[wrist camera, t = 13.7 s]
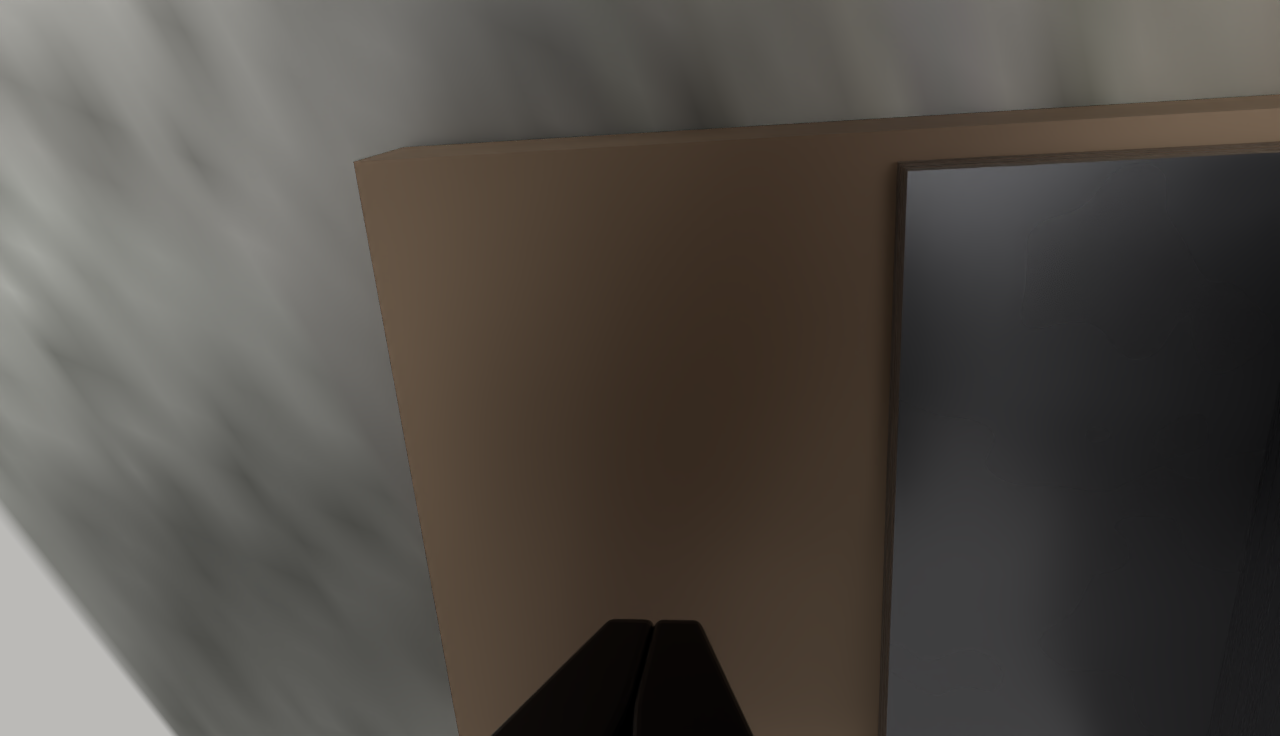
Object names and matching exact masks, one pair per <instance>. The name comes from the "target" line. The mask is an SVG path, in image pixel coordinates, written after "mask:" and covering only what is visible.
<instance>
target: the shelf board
mask: <svg viewBox="0 0 1280 736" xmlns="http://www.w3.org/2000/svg"><path fill="white" fill-rule="evenodd" d="M1275 141H1280V94H1279V95H1262V96H1246V97H1229V98H1213V99H1196V100H1179V101H1163V102H1146V103H1130V104H1113V105H1096V106H1080V107H1063V108H1047V109H1030V110H1013V111H997V112H980V113H964V114H947V115H930V116H914V117H897V118H881V119H864V120H847V121H831V122H814V123H798V124H781V125H765V126H748V127H731V128H715V129H698V130H682V131H665V132H648V133H632V134H615V135H599V136H582V137H565V138H549V139H532V140H516V141H499V142H482V143H466V144H449V145H433V146H416V147H403V148H399V149H396V150H392V151H389V152H385V153H382V154H379V155H375V156H372V157H368V158H365V159H361V160H358V161H355V162H354V167H355V172H356V178H357V183H358V189H359V194H360V200H361V205H362V210H363V216H364V221H365V227H366V232H367V238H368V243H369V249H370V254H371V259H372V265H373V270H374V276H375V281H376V287H377V292H378V297H379V303H380V308H381V314H382V319H383V325H384V330H385V336H386V341H387V346H388V352H389V357H390V363H391V368H392V374H393V379H394V385H395V390H396V395H397V401H398V406H399V412H400V417H401V423H402V428H403V433H404V439H405V444H406V450H407V455H408V461H409V466H410V472H411V477H412V482H413V488H414V493H415V499H416V504H417V510H418V515H419V521H420V526H421V531H422V537H423V542H424V548H425V553H426V559H427V564H428V569H429V575H430V580H431V586H432V591H433V597H434V602H435V608H436V613H437V618H438V624H439V629H440V635H441V640H442V646H443V651H444V657H445V662H446V667H447V673H448V678H449V684H450V689H451V695H452V700H453V705H454V711H455V716H456V722H457V727H458V733H459V736H491V735H492V734H493V733H494V732H495V731H496V730H497V729H498V728H499V727H500V726H501V725H502V724H503V723H504V722H505V721H506V720H507V719H508V718H509V717H510V716H511V715H512V714H513V713H514V712H515V711H516V710H517V709H518V708H519V707H520V706H521V705H522V704H523V703H524V702H525V701H526V700H527V699H528V698H529V697H530V696H531V695H533V694H534V693H535V692H536V691H537V690H538V689H539V688H540V687H541V686H542V685H543V684H544V683H545V682H546V681H547V680H548V679H549V678H550V677H551V676H552V675H553V674H554V673H555V672H556V671H557V670H558V669H559V668H560V667H561V666H562V665H563V664H564V663H565V662H566V661H567V660H568V659H569V658H570V657H571V656H572V655H573V654H574V653H575V652H576V651H577V650H578V649H579V648H580V647H581V646H582V645H583V644H584V643H585V642H586V641H587V640H589V639H590V638H591V637H592V636H593V635H594V634H595V633H596V632H597V631H598V630H599V629H600V628H601V627H602V626H603V625H604V624H605V623H606V622H607V621H609V620H611V619H647V620H650V621H651V622H652V623H653V625H655V624H656V623H657V622H658V621H660V620H696V621H698V622H699V623H700V624H701V625H702V626H703V628H704V630H705V633H706V635H707V637H708V639H709V641H710V643H711V645H712V648H713V650H714V652H715V654H716V656H717V658H718V660H719V662H720V665H721V667H722V669H723V671H724V673H725V675H726V677H727V680H728V682H729V684H730V686H731V688H732V690H733V692H734V695H735V697H736V699H737V701H738V703H739V705H740V707H741V709H742V712H743V714H744V716H745V718H746V720H747V722H748V724H749V727H750V729H751V731H752V733H753V735H754V736H878V718H879V688H880V658H881V629H882V599H883V569H884V539H885V509H886V480H887V450H888V420H889V390H890V361H891V331H892V301H893V271H894V241H895V212H896V182H897V161H914V160H933V159H952V158H971V157H990V156H1009V155H1028V154H1047V153H1066V152H1085V151H1104V150H1123V149H1142V148H1161V147H1180V146H1199V145H1218V144H1237V143H1256V142H1275Z"/></svg>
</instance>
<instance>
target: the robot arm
mask: <svg viewBox="0 0 1280 736" xmlns="http://www.w3.org/2000/svg"><path fill="white" fill-rule="evenodd" d="M491 736H754V735H753V733H752V731H751V729H750V727H749V724H748V722H747V720H746V718H745V716H744V714H743V712H742V709H741V707H740V705H739V703H738V701H737V699H736V697H735V695H734V692H733V690H732V688H731V686H730V684H729V682H728V680H727V677H726V675H725V673H724V671H723V669H722V667H721V665H720V662H719V660H718V658H717V656H716V654H715V652H714V650H713V648H712V645H711V643H710V641H709V639H708V637H707V635H706V633H705V630H704V628H703V626H702V625H701V624H700V623H699V622H698V621H696V620H660V621H658V622H657V623H656V624H655V625H653V623H652V622H651V621H650V620H647V619H611V620H609V621H607V622H606V623H605V624H604V625H603V626H602V627H601V628H600V629H599V630H598V631H597V632H596V633H595V634H594V635H593V636H592V637H591V638H590V639H589V640H587V641H586V642H585V643H584V644H583V645H582V646H581V647H580V648H579V649H578V650H577V651H576V652H575V653H574V654H573V655H572V656H571V657H570V658H569V659H568V660H567V661H566V662H565V663H564V664H563V665H562V666H561V667H560V668H559V669H558V670H557V671H556V672H555V673H554V674H553V675H552V676H551V677H550V678H549V679H548V680H547V681H546V682H545V683H544V684H543V685H542V686H541V687H540V688H539V689H538V690H537V691H536V692H535V693H534V694H533V695H531V696H530V697H529V698H528V699H527V700H526V701H525V702H524V703H523V704H522V705H521V706H520V707H519V708H518V709H517V710H516V711H515V712H514V713H513V714H512V715H511V716H510V717H509V718H508V719H507V720H506V721H505V722H504V723H503V724H502V725H501V726H500V727H499V728H498V729H497V730H496V731H495V732H494V733H493V734H492V735H491Z"/></svg>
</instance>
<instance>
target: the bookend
mask: <svg viewBox="0 0 1280 736" xmlns="http://www.w3.org/2000/svg"><path fill="white" fill-rule="evenodd" d="M878 736H1280V141H1275V142H1256V143H1237V144H1218V145H1199V146H1180V147H1161V148H1142V149H1123V150H1104V151H1085V152H1066V153H1047V154H1028V155H1009V156H990V157H971V158H952V159H933V160H914V161H897V182H896V212H895V241H894V271H893V301H892V331H891V361H890V390H889V420H888V450H887V480H886V509H885V539H884V569H883V599H882V629H881V658H880V688H879V718H878Z"/></svg>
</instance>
